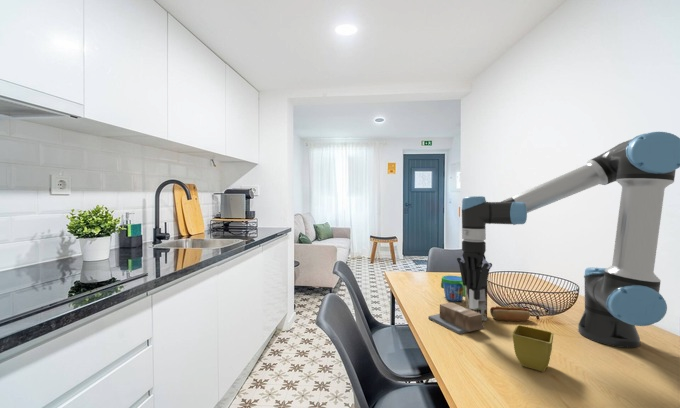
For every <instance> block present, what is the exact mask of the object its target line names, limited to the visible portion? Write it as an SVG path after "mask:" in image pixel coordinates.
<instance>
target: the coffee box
mask: <svg viewBox="0 0 680 408" xmlns="http://www.w3.org/2000/svg"><path fill="white" fill-rule="evenodd" d="M464 299H465V301H464V303H465V308H467V309H470V310H472V311H475V312H478V313H480V314H482V322H483V321H485V322H487V321H488V282H487V283H486V288H485V289H483V290H480V299H479V300H478V308H476V309H471V308H469V297H468V288H467V286H465V298H464Z"/></svg>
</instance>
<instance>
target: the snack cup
mask: <svg viewBox="0 0 680 408" xmlns="http://www.w3.org/2000/svg"><path fill="white" fill-rule="evenodd" d="M440 288H442V289H443V292H444V296H445V297H444V298H445V299H446V300H448V301H450V302H461V301H462V300H463V298H464V297H465V286H464V285H463V282H462V277H461V276H459V275H443V276H442V277H441V283H440Z"/></svg>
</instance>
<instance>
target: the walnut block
mask: <svg viewBox="0 0 680 408" xmlns="http://www.w3.org/2000/svg"><path fill="white" fill-rule="evenodd" d="M439 314H440V318H442V319H444V320H446V321H448V322H450V323H453V324H455V325H457V326H459V327H461V328H463V329H465V330H467V331H469V332H475V331H477V330H481V329H483V328H482V325H483V321H482V314H480V313H478V312H475V311H472V310H470V309H467V308H465V307H464V306H461V304H460V305H459V304H456V303H454V302H453V301H450V302H445V303H441V304H439Z"/></svg>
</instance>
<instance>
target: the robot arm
mask: <svg viewBox="0 0 680 408" xmlns="http://www.w3.org/2000/svg"><path fill="white" fill-rule="evenodd" d="M677 169H680V137H679V136H677V135H675V134H673V133H671V132H667V131H652V132H647V133H642V134H639V135H636V136H634V137H633V138H631V139H628V140H626V141H623V142H619V144H617V145H615V146H614V147H611V148H610V149H608V150H607V151H605V152H603V153H602V154H600V155H597V156H596V157H595V156H594V157H593V158H591V159H589V160H588V161H587V162H586V164H585V165H582V166H579V167H577V168H576V169H573V170H571V171H569V172H567V173H564V174H561V175H559V176H556V177H555V178H553V179H550V180H548V181H545V182H543V183H540V184H538V185H537V186H534V187H532V188H530V189H526V190H525V191H522V192H520V193H518V194H516V195H513V196H511V197H509V198H505V199H503V200H502V201H487V200H486V197H485V196H482V195H481V196H480V195H479V196H464V197H463V198H462V201H461V233H462V234H461V238H462V239H463V240H462V241H461V251H462V252H463V253H462V256H460V257H457V258H456V261H457V263H458V266H459V271H460V275H461V276H460V277H462V282H463V285H464V286H467V288H468V297H469V308H471V309H476V308H478V300H479V299H480V290H483V289H485V288H486V283H487V284H488V279H489V273H490V270H491V268H492V267H493V264H492V262H489V261H487V259H486V258H487V257H486V254H485V253H486V251H487V249H486V247H487V246H486V245H487V244H486V235H487V234H486V232H487V231H486V230H487V229H486V225H487V224H488V225H491V224H493V225H495V224H496V225H513V226H515V225H525V224H526V223H527V218H528V214H529V213H531V212H533V211H536V210H538V209H541V208H543V207H545V206H548V205H550V204H553V203H556V202H558V201H561V200H563V199H566V198H569V197H571V196H574V195H576V194H578V193H581V192H583V191H586V190H588V189H591V188H593V187H596V186H598V185H600V186H601V185H602V186H606V185H609V184H612V183H615V182H617V183H618V184H619V185H620V186H621V195H620V200H619V210H618V216H617V225H616V232H615V240H614V249H613V255H612V256H613V257H612V265H610V266H609V267H607V268H606V267H586V268H585V269H584V275H583V278H584V311H583V313H582V316H581V317H580V320H579V322H578V329H577V331H578V333H579V334H580V335H582V336H583V337H585V338H587V339H589V340H591V341H594V342H597V343H599V344H603V345H608V346H613V347H618V348H619V347H620V348H625V349H626V348H628V349H629V348H637V347H639V346H640V345H641V342H640V341H641V338H640V335H639V333H638V330H637V328H636V327H646V326H647V327H648V326H651V325H654V324H655V323H656V324H657V323H660V322H661V321H662V320H663V318H664V317H665V316H666V314H667V311H668V306H667V305H668V304H667V302H666V300H665V298H664V297H663V295H662V294H661V293H660V291H661V290H660V287H661V279H660V278H659V277H658V276H657V275H656V274H655V273H654V271H655V263H656V257H657V250H658V249H657V248H658V241H659V236H660V235H659V233H660V229H661V228H660V226H661V220H662V219H661V218H662V213H663V212H662V211H663V206H664V204H663V203H664V198H665V197H664V196H665V189H666V188H667V187H668V186H670V185H672V184H674V183H675V177H676V170H677Z"/></svg>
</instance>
